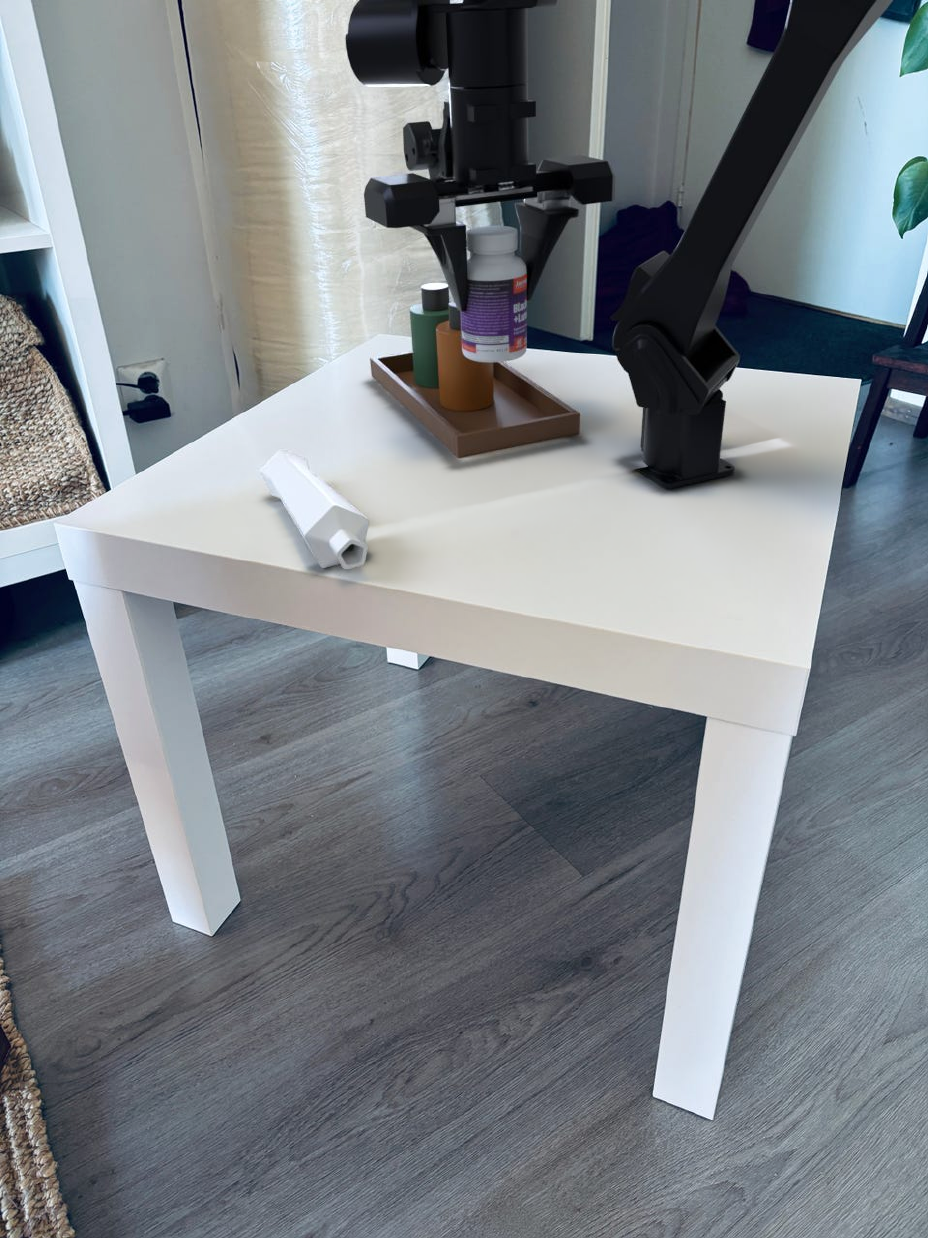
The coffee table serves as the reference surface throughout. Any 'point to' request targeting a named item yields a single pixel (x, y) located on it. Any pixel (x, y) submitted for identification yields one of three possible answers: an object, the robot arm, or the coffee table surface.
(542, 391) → the tray
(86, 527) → the coffee table surface
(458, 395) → the amber bottle
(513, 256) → the pill bottle
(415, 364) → the green bottle
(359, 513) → the perfume bottle
